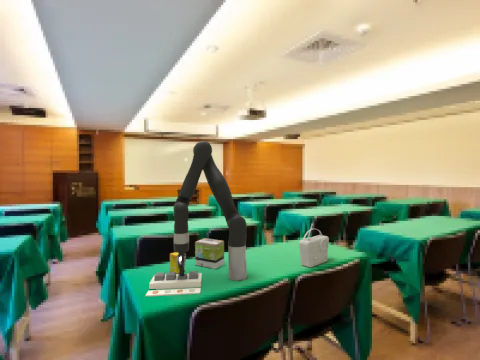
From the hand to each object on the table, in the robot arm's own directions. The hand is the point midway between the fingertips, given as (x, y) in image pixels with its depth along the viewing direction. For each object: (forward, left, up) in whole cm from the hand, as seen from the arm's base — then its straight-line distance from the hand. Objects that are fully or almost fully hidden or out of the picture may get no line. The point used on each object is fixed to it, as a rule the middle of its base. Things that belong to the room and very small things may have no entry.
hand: (182, 275), depth 138 cm
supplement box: (+5, -17, -4) cm, 18 cm away
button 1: (-6, 0, -2) cm, 6 cm away
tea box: (-13, -27, -4) cm, 30 cm away
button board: (+3, 0, -4) cm, 5 cm away
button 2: (0, 0, -3) cm, 3 cm away
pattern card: (+3, +10, -4) cm, 11 cm away
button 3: (+5, 0, -2) cm, 6 cm away
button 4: (+11, 0, -2) cm, 11 cm away
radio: (-77, -20, -4) cm, 79 cm away
